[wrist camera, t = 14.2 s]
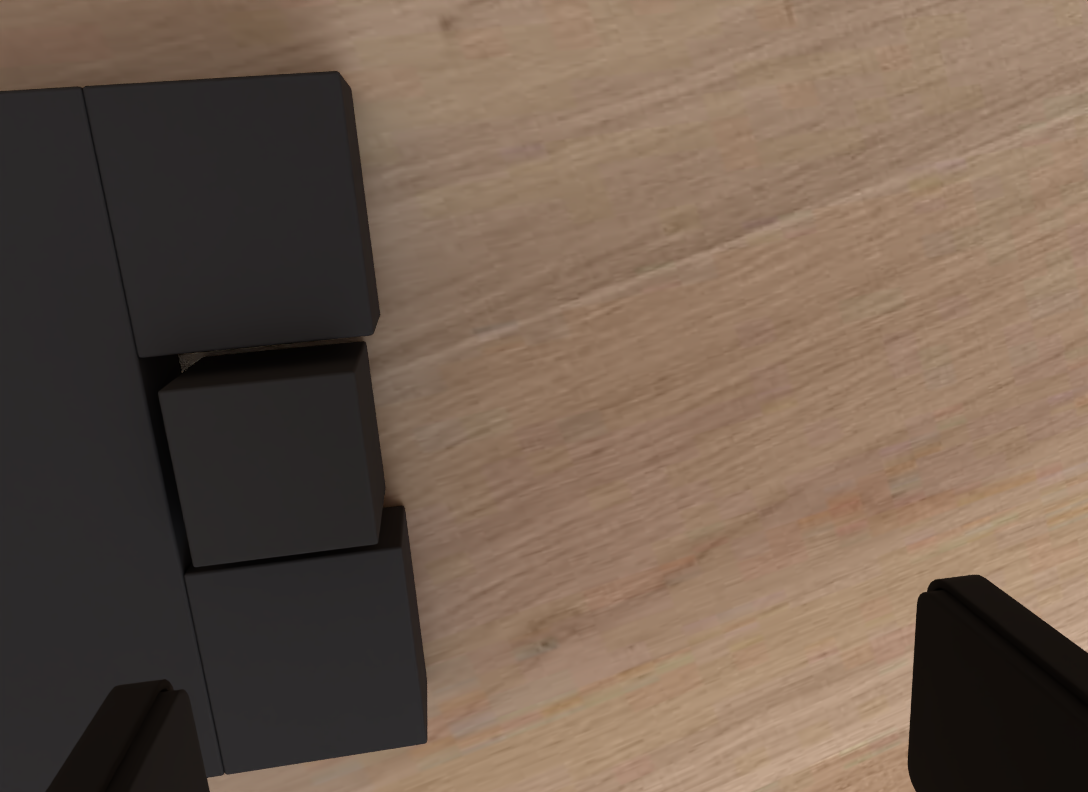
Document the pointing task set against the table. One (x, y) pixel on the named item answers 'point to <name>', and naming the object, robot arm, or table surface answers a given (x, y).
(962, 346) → the table surface
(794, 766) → the table surface
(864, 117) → the table surface
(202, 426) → the pad block
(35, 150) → the base pad
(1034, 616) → the robot arm
